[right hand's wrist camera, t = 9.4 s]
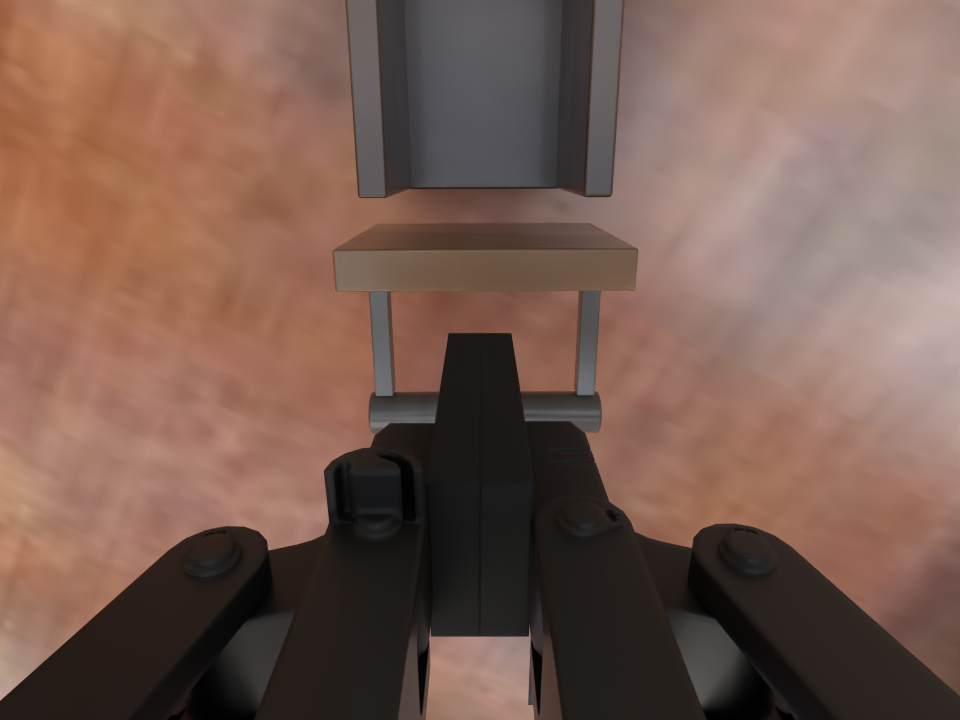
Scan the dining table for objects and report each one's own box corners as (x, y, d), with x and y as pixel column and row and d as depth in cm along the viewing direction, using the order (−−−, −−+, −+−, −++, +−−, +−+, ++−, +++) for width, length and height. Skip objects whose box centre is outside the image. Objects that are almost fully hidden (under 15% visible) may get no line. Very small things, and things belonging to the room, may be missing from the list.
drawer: (582, 376, 26) (622, 458, 19) (385, 377, 26) (348, 459, 19) (623, -397, 18) (718, -766, 11) (341, -396, 18) (250, -764, 11)
